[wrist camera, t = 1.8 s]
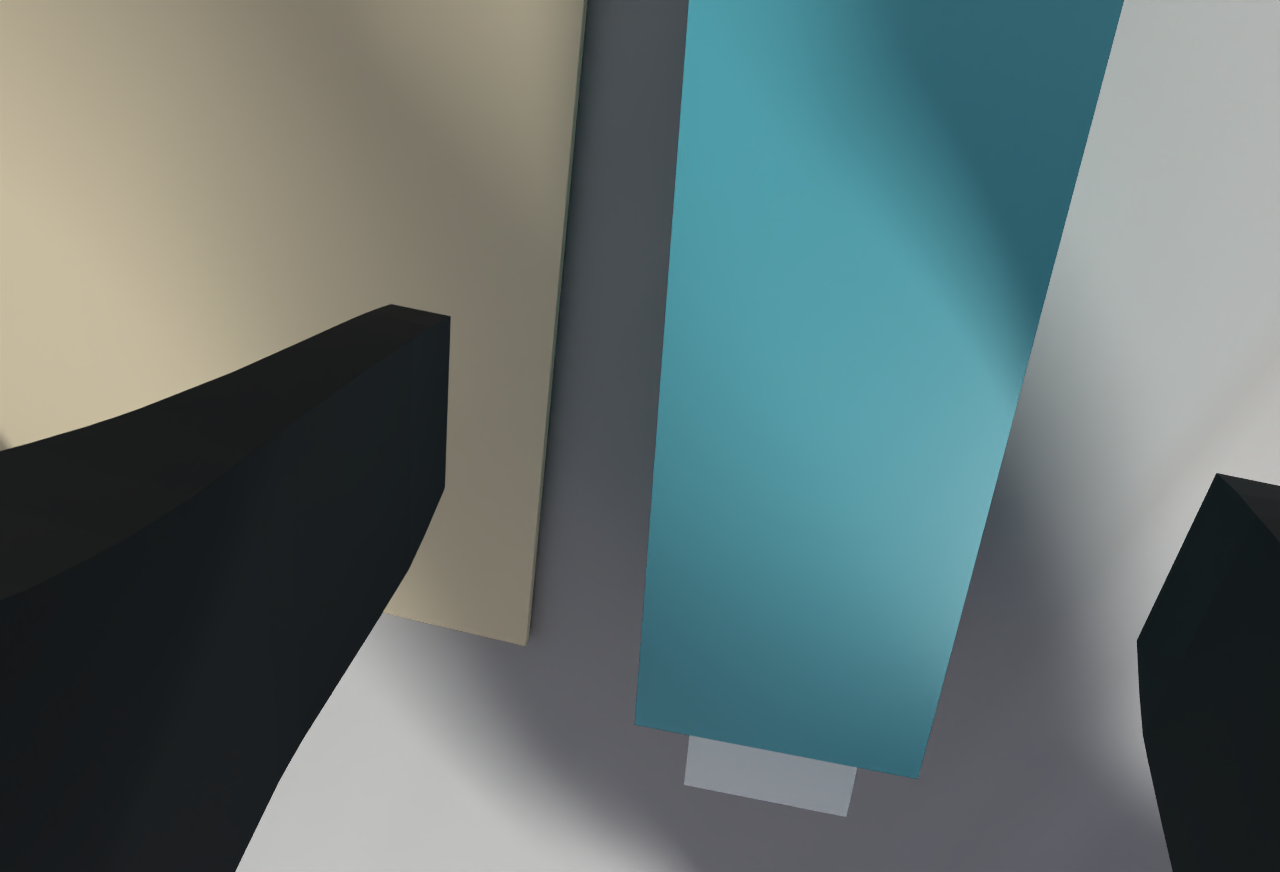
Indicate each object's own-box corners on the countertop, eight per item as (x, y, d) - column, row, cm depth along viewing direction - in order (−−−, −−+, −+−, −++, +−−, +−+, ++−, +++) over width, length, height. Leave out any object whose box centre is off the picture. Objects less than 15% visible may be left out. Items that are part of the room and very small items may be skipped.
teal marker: (1075, -101, 12) (1131, -29, 9) (896, 667, 18) (889, 881, 15) (753, -129, 13) (694, -70, 10) (679, 627, 19) (626, 828, 15)
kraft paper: (605, -189, 13) (601, -188, 12) (529, 638, 19) (525, 646, 19) (-155, -309, 14) (-169, -309, 13) (19, 518, 20) (11, 525, 20)
